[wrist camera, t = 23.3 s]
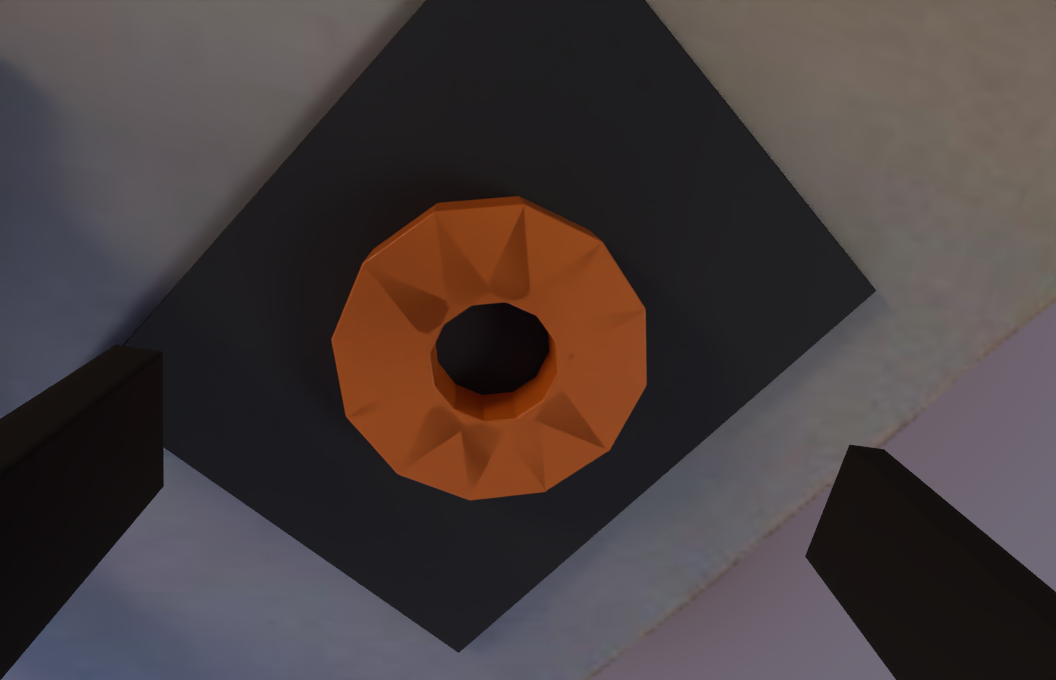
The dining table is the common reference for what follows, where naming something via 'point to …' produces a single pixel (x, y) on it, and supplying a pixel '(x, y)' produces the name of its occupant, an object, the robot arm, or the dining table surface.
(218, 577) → the dining table surface
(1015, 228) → the dining table surface
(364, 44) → the dining table surface
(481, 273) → the orange disc
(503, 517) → the mat
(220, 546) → the dining table surface
